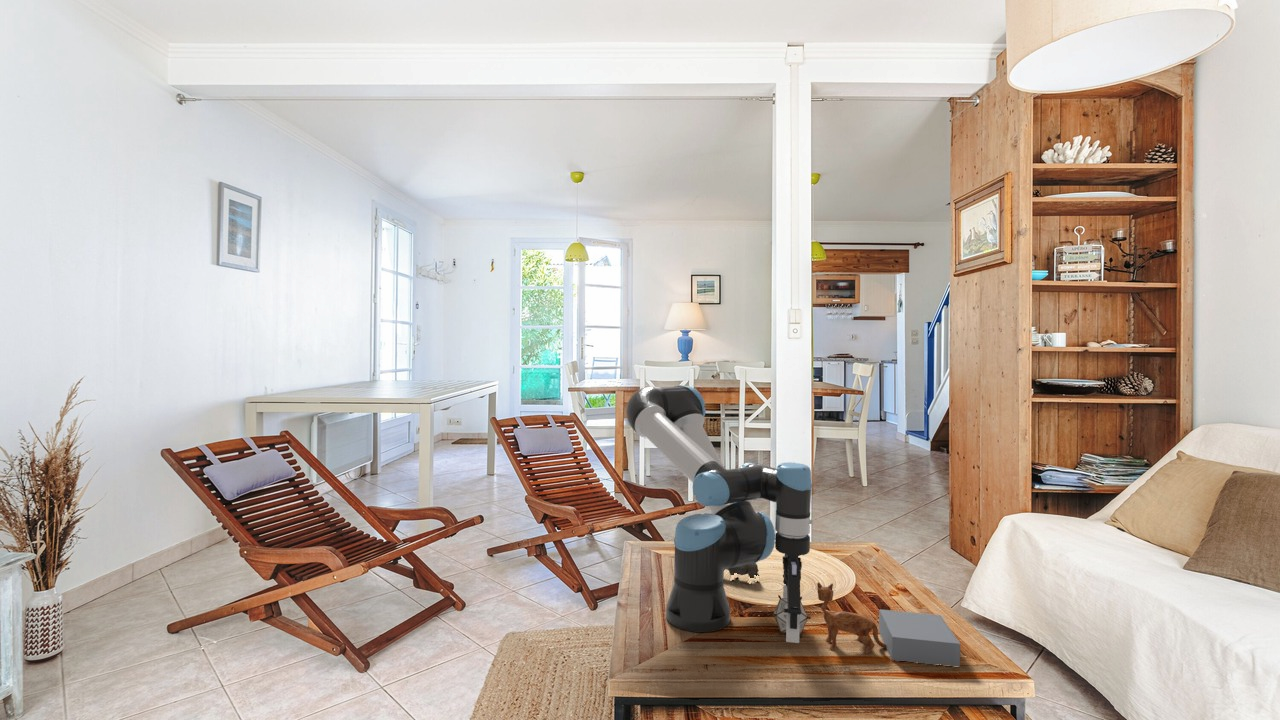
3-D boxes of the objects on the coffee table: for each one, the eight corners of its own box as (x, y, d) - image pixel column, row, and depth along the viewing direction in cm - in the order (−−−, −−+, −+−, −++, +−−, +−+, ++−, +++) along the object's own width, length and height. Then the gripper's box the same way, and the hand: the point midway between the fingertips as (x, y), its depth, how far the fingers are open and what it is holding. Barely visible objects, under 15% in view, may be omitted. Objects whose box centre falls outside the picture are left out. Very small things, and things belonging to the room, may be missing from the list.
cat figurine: (893, 646, 132) (898, 585, 132) (904, 662, 126) (909, 597, 125) (810, 638, 133) (814, 577, 133) (816, 653, 127) (821, 590, 126)
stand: (891, 660, 124) (892, 636, 124) (878, 630, 137) (879, 609, 136) (959, 668, 121) (960, 643, 121) (939, 637, 134) (940, 615, 134)
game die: (794, 653, 133) (799, 631, 127) (761, 629, 138) (764, 606, 132) (814, 624, 138) (820, 601, 132) (782, 601, 143) (786, 578, 136)
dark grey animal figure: (711, 573, 169) (711, 552, 169) (760, 580, 165) (761, 558, 164) (708, 578, 165) (708, 556, 165) (758, 586, 161) (758, 564, 161)
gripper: (815, 553, 121) (813, 657, 122) (805, 518, 146) (803, 604, 146) (777, 550, 123) (775, 653, 123) (773, 516, 147) (771, 601, 148)
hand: (790, 627), depth 135 cm, fingers open, 13 cm apart
